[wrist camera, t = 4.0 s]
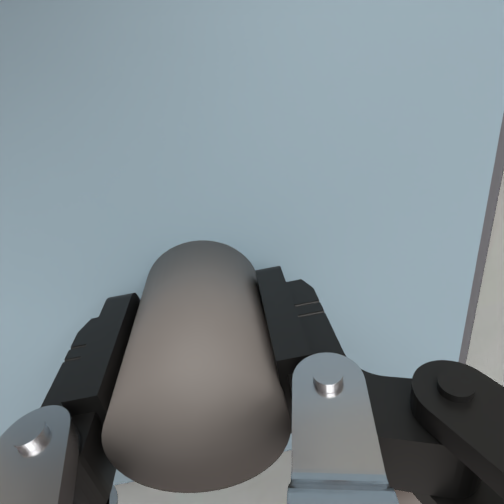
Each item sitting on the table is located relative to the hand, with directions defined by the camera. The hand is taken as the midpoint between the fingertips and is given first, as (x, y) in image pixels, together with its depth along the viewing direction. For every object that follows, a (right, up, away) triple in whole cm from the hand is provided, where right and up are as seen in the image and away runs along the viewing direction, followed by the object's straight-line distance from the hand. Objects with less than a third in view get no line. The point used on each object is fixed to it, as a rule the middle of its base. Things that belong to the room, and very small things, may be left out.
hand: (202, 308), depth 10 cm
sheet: (0, +1, +2) cm, 2 cm away
